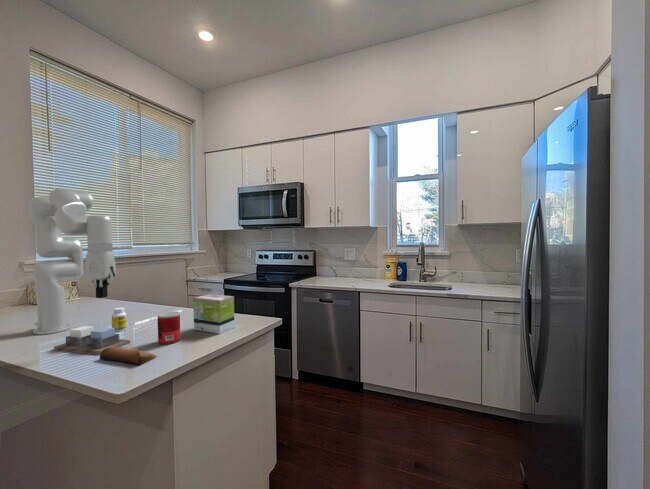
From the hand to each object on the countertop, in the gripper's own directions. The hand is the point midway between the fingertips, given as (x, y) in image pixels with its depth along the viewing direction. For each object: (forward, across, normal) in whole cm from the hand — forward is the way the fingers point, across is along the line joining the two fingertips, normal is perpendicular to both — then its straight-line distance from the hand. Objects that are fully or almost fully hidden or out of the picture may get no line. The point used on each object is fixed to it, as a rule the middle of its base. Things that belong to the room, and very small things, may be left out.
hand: (101, 297), depth 114 cm
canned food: (+19, +20, +11) cm, 30 cm away
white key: (+16, -10, 0) cm, 19 cm away
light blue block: (+16, 0, 0) cm, 16 cm away
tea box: (+19, +28, +29) cm, 45 cm away
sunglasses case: (+20, +19, -6) cm, 28 cm away
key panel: (+19, -5, 0) cm, 20 cm away
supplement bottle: (+19, -14, +19) cm, 31 cm away
